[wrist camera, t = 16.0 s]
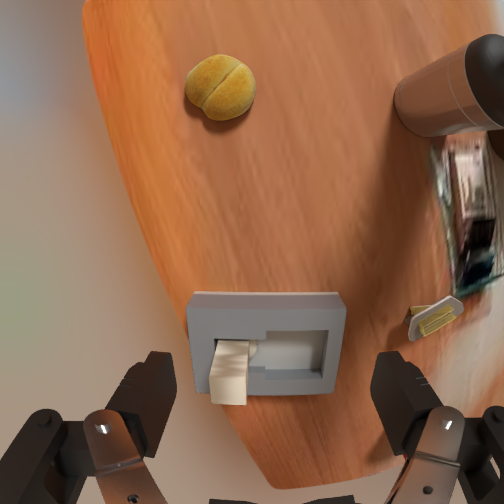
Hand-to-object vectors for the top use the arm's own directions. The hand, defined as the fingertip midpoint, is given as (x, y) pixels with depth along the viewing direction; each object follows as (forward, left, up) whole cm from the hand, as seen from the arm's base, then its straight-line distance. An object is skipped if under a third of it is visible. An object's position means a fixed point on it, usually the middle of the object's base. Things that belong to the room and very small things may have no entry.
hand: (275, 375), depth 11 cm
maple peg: (+4, +16, -29) cm, 33 cm away
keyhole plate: (0, +16, -30) cm, 34 cm away
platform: (-25, +12, -31) cm, 41 cm away
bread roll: (+6, -18, -31) cm, 36 cm away
